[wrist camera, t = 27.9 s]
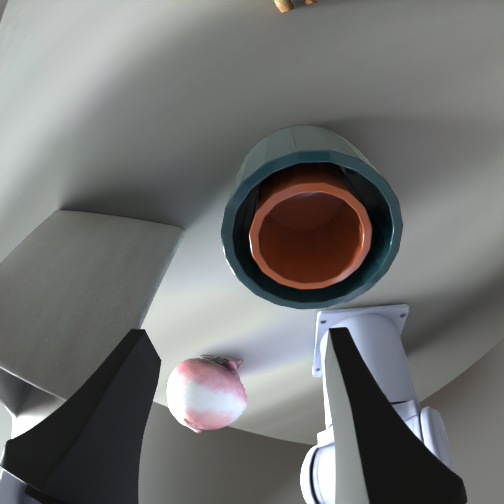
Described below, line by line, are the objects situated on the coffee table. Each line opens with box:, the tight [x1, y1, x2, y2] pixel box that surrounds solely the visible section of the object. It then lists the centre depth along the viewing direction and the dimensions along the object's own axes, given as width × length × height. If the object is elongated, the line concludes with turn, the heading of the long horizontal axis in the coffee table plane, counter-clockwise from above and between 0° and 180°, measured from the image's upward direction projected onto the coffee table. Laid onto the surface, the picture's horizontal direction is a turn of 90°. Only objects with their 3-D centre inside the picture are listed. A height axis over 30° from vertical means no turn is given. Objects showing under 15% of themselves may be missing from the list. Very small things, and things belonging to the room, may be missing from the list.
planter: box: [0, 210, 184, 438], centre depth 14 cm, size 16×8×19 cm, turn 125°
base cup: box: [221, 125, 403, 309], centre depth 15 cm, size 8×8×6 cm
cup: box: [249, 162, 372, 289], centre depth 15 cm, size 5×5×6 cm
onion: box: [167, 355, 247, 433], centre depth 26 cm, size 8×8×7 cm
